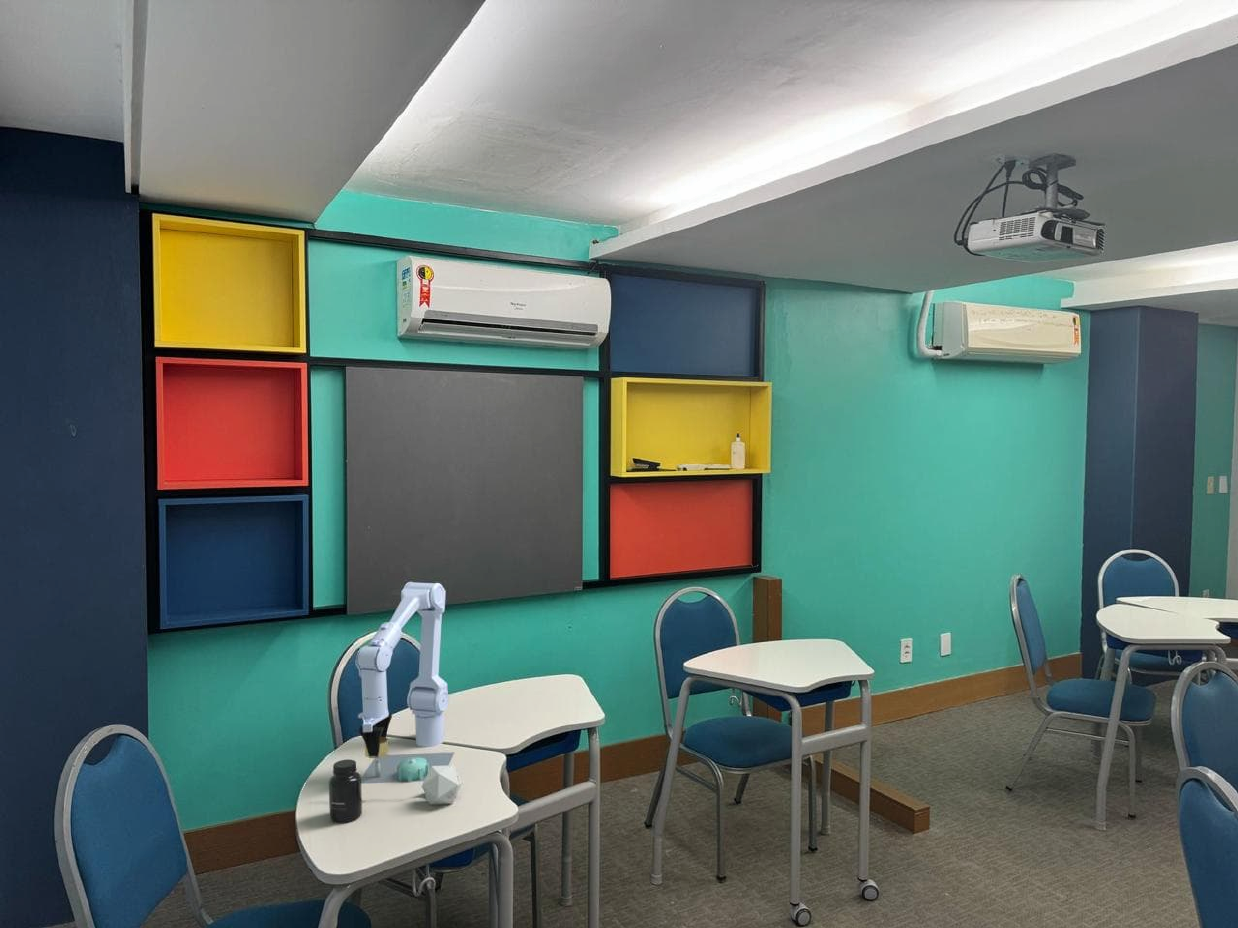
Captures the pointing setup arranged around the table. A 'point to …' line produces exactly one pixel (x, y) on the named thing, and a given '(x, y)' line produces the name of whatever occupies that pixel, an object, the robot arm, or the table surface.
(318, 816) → the table surface
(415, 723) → the robot arm
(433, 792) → the die
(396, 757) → the gear board
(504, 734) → the table surface
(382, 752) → the yellow faceted ring
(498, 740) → the table surface
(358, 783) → the supplement bottle
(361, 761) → the table surface
